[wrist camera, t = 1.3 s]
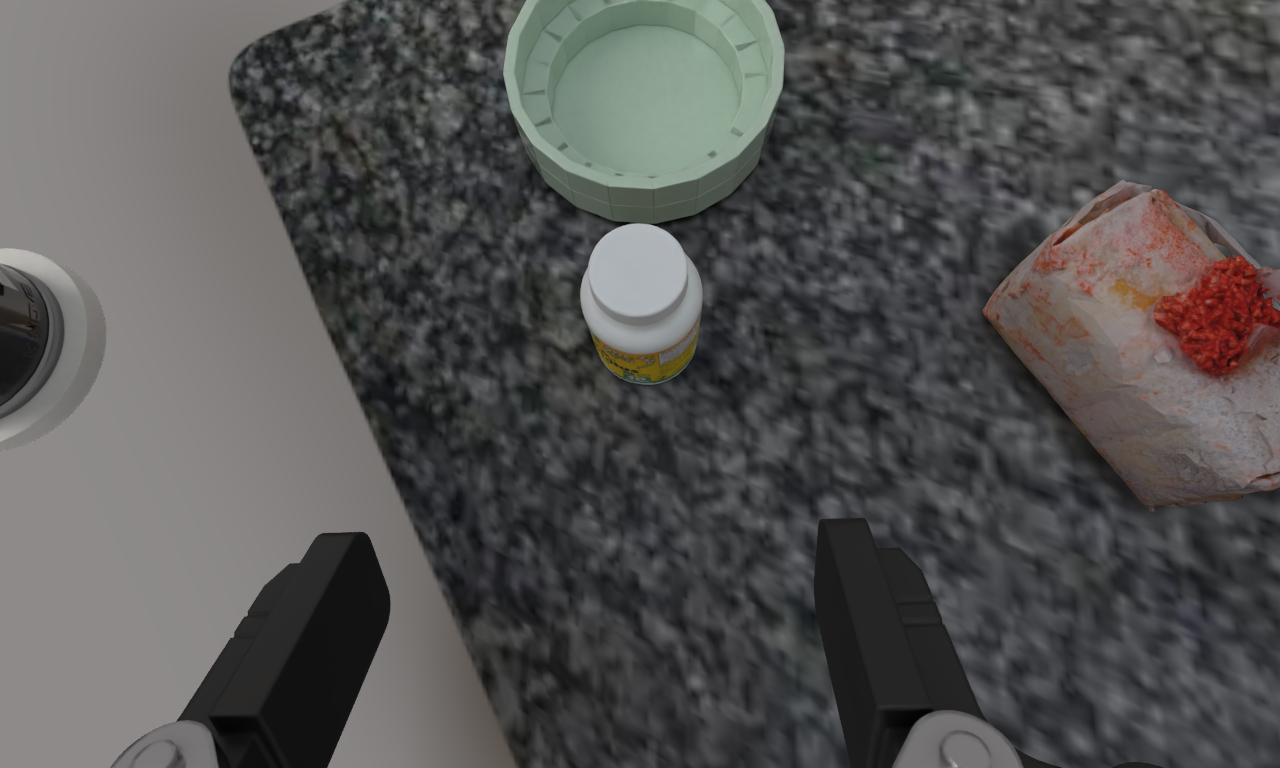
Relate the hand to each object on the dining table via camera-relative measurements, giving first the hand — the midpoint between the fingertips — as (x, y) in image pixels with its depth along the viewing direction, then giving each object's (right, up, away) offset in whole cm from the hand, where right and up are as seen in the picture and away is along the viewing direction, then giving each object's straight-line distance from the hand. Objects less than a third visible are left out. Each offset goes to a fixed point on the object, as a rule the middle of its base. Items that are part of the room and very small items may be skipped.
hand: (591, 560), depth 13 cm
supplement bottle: (+1, +6, +25) cm, 25 cm away
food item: (+24, +4, +24) cm, 34 cm away
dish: (+1, +19, +27) cm, 33 cm away
